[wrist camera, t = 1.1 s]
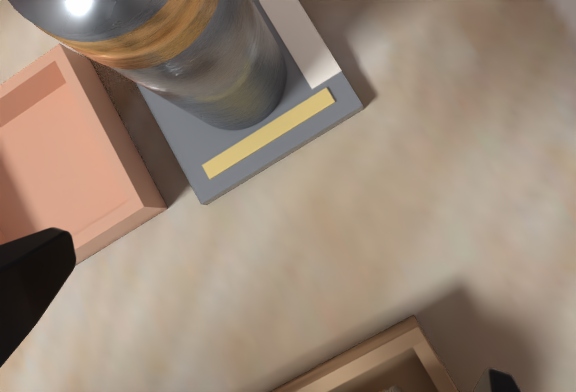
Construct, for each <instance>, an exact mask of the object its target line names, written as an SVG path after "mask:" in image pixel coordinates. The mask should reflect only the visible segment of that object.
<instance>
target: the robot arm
mask: <svg viewBox="0 0 576 392" xmlns="http://www.w3.org/2000/svg"><path fill="white" fill-rule="evenodd" d="M75 265H76V253H75V248H74V243H73V238H72V235H71V234H70V232H68V231H66V230H62V229H59V228H56V227H50V228H47V229H44V230H41V231H38V232H35V233H33V234H30V235H27V236H24V237H21V238H18V239H15V240H13V241H10V242H7V243H4V244H1V245H0V368H1V366H2V365H3V364H4V363H5V361H6V360H7V359H8V358H9V357H10V355H11V354H12V353H13V352H14V351H15V349H16V348H17V347H18V346H19V345H20V343H21V342H22V341H23V340H24V339H25V337H26V336H27V335H28V334H29V333H30V331H31V330H32V329H33V328H34V326H35V325H36V324H37V322H38V321H39V319H40V318H41V317H42V315H43V314H44V312H45V311H46V309H47V308H48V306H49V305H50V303H51V302H52V301H53V299H54V298H55V296H56V295H57V293H58V292H59V290H60V289H61V287H62V286H63V284H64V283H65V281H66V280H67V278H68V277H69V275H70V274H71V272H72V271H73V269H74V267H75ZM473 392H521V391H520V389H519V387H518V385H517V383H516V382H515V380H514V378H513V377H512V375H510V374H509V373H507V372H504V371H501V370H498V369H495V368H491V367H489V368H487V369H486V370H485V371H484V373H483V375H482V376H481V378H480V380H479V382H478V384H477V385H476V387H475V389H474V391H473Z"/></svg>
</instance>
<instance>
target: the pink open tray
mask: <svg viewBox="0 0 576 392" xmlns="http://www.w3.org/2000/svg"><path fill="white" fill-rule="evenodd" d="M166 209H168V208H167V206H166V204H165V202H164V200H163V198H162V196H161V195H160V193H159V191H158V189H157V187H156V185H155V183H154V181H153V179H152V177H151V176H150V174H149V172H148V170H147V168H146V166H145V164H144V162H143V160H142V158H141V157H140V155H139V153H138V151H137V149H136V147H135V145H134V143H133V141H132V139H131V138H130V136H129V134H128V132H127V130H126V128H125V126H124V124H123V122H122V120H121V119H120V117H119V115H118V113H117V111H116V109H115V107H114V105H113V103H112V101H111V100H110V98H109V96H108V94H107V92H106V90H105V88H104V86H103V84H102V82H101V80H100V79H99V77H98V75H97V73H96V71H95V69H94V67H93V65H92V63H91V61H90V60H88V59H86V58H84V57H83V56H81V55H79V54H77V53H75V52H74V51H72V50H70V49H68V48H66V47H65V46H63V45H61V44H58V45H57V46H55V47H54V48H52V49H51V50H50V51H48V52H47V53H45V54H44V55H43V56H41V57H40V58H38V59H37V60H35V61H34V62H33V63H31V64H30V65H28V66H27V67H25V68H24V69H23V70H21V71H20V72H18V73H17V74H15V75H14V76H13V77H11V78H10V79H8V80H7V81H5V82H4V83H3V84H1V85H0V245H1V244H4V243H7V242H10V241H13V240H15V239H18V238H21V237H24V236H27V235H30V234H33V233H35V232H38V231H41V230H44V229H47V228H50V227H56V228H59V229H62V230H66V231H68V232H70V234H71V235H72V238H73V243H74V248H75V253H76V265H77V264H79V263H80V262H82V261H84V260H85V259H87V258H89V257H90V256H92V255H93V254H95V253H97V252H98V251H100V250H101V249H103V248H105V247H106V246H108V245H110V244H111V243H113V242H114V241H116V240H118V239H119V238H121V237H123V236H124V235H126V234H127V233H129V232H131V231H132V230H134V229H135V228H137V227H139V226H140V225H142V224H144V223H145V222H147V221H148V220H150V219H152V218H153V217H155V216H156V215H158V214H160V213H161V212H163V211H165V210H166ZM76 265H75V266H76Z"/></svg>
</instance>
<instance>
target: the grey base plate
mask: <svg viewBox="0 0 576 392" xmlns="http://www.w3.org/2000/svg"><path fill="white" fill-rule="evenodd" d="M253 2H254V4H255V6H256V7H257V9H258V11H259V13H260V14H261V16H262V18H263V20H264V21H265V23H266V25H267V27H268V28H269V30H270V32H271V34H272V35H273V37H274V39H275V41H276V42H277V44H278V46H279V47H280V49H281V51H282V53H283V56H284V59H285V62H286V67H287V82H286V87H285V91H284V94H283V96H282V98H281V100H280V102H279V104H278V105H277V107H276V108H275V110H274V111H273V112H272V113H271V114H270V115H269V116H268V117H267V118H266V119H264V120H263V121H262V122H260V123H258V124H256V125H255V126H252V127H250V128H247V129H243V130H235V131H231V130H222V129H218V128H215V127H213V126H211V125H209V124H207V123H205V122H203V121H202V120H200V119H198V118H196V117H195V116H193V115H191V114H190V113H188V112H186V111H184V110H183V109H181V108H179V107H177V106H176V105H174V104H172V103H170V102H169V101H167V100H165V99H164V98H162V97H160V96H158V95H157V94H155V93H153V92H151V91H150V90H148V89H146V88H144V87H143V86H141V85H139V84H137V83H136V82H135V83H136V84H137V86H138V88H139V90H140V92H141V94H142V96H143V97H144V99H145V101H146V103H147V105H148V107H149V109H150V110H151V112H152V114H153V116H154V118H155V120H156V122H157V123H158V125H159V127H160V129H161V131H162V133H163V135H164V136H165V138H166V140H167V142H168V144H169V146H170V148H171V149H172V151H173V153H174V155H175V157H176V159H177V161H178V162H179V164H180V166H181V168H182V170H183V172H184V174H185V175H186V177H187V179H188V181H189V183H190V185H191V187H192V188H193V190H194V192H195V194H196V196H197V198H198V200H199V201H200V203H201V204H203V205H208V204H209V203H211V202H212V201H214V200H216V199H217V198H219V197H221V196H222V195H224V194H226V193H227V192H229V191H230V190H232V189H234V188H235V187H237V186H239V185H240V184H242V183H244V182H245V181H247V180H248V179H250V178H252V177H253V176H255V175H257V174H258V173H260V172H262V171H263V170H265V169H266V168H268V167H270V166H271V165H273V164H275V163H276V162H278V161H280V160H281V159H283V158H284V157H286V156H288V155H289V154H291V153H293V152H294V151H296V150H298V149H299V148H301V147H302V146H304V145H306V144H307V143H309V142H311V141H312V140H314V139H316V138H317V137H319V136H320V135H322V134H324V133H325V132H327V131H329V130H330V129H332V128H334V127H335V126H337V125H338V124H340V123H342V122H343V121H345V120H347V119H348V118H350V117H352V116H353V115H355V114H356V113H358V112H360V111H361V110H363V105H362V103H361V102H360V100H359V98H358V97H357V95H356V93H355V92H354V90H353V89H352V87H351V85H350V84H349V82H348V81H347V79H346V77H345V76H344V74H343V72H342V70H341V69H340V67H339V66H338V64H337V62H336V61H335V59H334V57H333V56H332V54H331V53H330V51H329V49H328V48H327V46H326V44H325V43H324V41H323V40H322V38H321V36H320V35H319V33H318V31H317V30H316V28H315V27H314V25H313V23H312V22H311V20H310V19H309V17H308V15H307V14H306V12H305V10H304V9H303V7H302V6H301V4H300V2H299V1H298V0H253Z"/></svg>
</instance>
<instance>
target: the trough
mask: <svg viewBox="0 0 576 392" xmlns="http://www.w3.org/2000/svg"><path fill="white" fill-rule="evenodd" d="M394 385H397V386H398V387H400V388H401V390H402V391H403V392H459V391H458V389H457V388H456V386H455V384H454V382H453V381H452V379H451V377H450V376H449V374H448V372H447V371H446V369H445V367H444V365H443V364H442V362H441V360H440V359H439V357H438V355H437V354H436V352H435V350H434V349H433V347H432V345H431V343H430V342H429V340H428V338H427V337H426V335H425V333H424V332H423V330H422V328H421V327H420V325H419V323H418V321H417V320H416V318H415V316H414V315H413V316H411V317H409V318H407V319H405V320H403V321H401V322H400V323H398V324H396V325H394V326H392V327H390V328H388V329H387V330H385V331H383V332H381V333H379V334H377V335H375V336H373V337H372V338H370V339H368V340H366V341H364V342H362V343H360V344H358V345H357V346H355V347H353V348H351V349H349V350H347V351H345V352H344V353H342V354H340V355H338V356H336V357H334V358H332V359H330V360H329V361H327V362H325V363H323V364H321V365H319V366H317V367H316V368H314V369H312V370H310V371H308V372H306V373H304V374H302V375H301V376H299V377H297V378H295V379H293V380H291V381H289V382H288V383H286V384H284V385H282V386H280V387H278V388H276V389H274V390H273V391H271V392H379V391H381V390H383V389H385V390H386V389H388V388H390V387H392V386H394Z"/></svg>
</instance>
